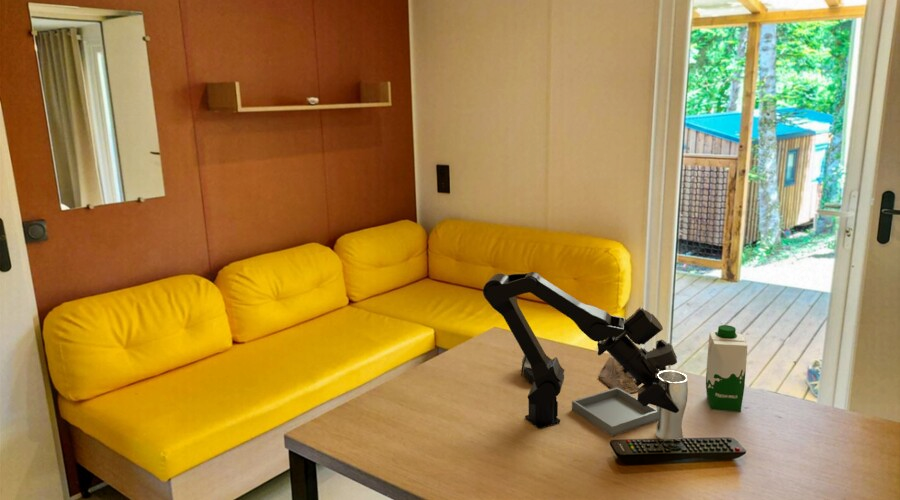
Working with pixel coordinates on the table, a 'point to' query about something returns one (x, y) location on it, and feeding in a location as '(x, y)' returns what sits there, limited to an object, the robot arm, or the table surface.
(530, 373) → the caster wheel
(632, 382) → the wooden fragment
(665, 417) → the metal tumbler
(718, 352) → the milk carton
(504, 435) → the table surface
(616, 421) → the tray
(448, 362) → the table surface
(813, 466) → the table surface
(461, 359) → the table surface
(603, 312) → the robot arm
